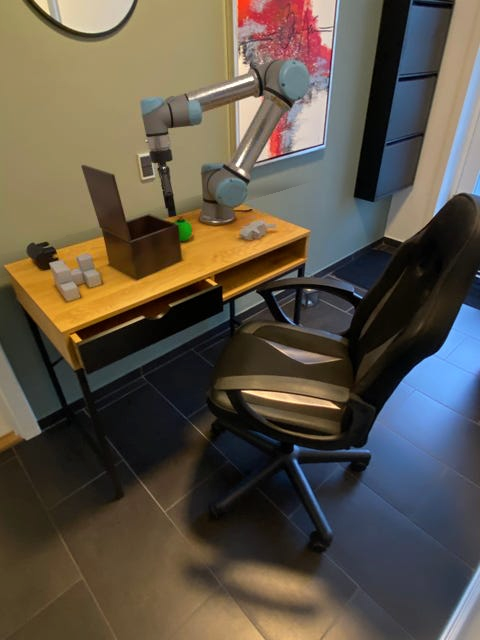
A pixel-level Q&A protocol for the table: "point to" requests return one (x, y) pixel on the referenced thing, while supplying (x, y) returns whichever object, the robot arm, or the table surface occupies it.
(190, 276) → the table surface
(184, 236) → the ornament
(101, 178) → the chest lid
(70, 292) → the grey cube cluster
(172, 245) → the chest
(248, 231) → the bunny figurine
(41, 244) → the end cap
